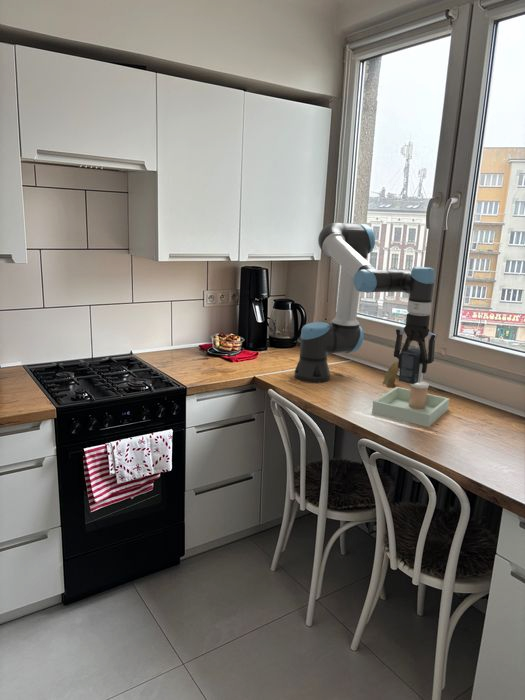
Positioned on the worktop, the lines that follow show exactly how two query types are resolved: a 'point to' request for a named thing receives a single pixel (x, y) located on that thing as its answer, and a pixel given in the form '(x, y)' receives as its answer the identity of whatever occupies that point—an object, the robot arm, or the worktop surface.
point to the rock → (391, 375)
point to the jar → (418, 395)
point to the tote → (398, 407)
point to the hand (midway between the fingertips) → (410, 379)
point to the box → (410, 365)
